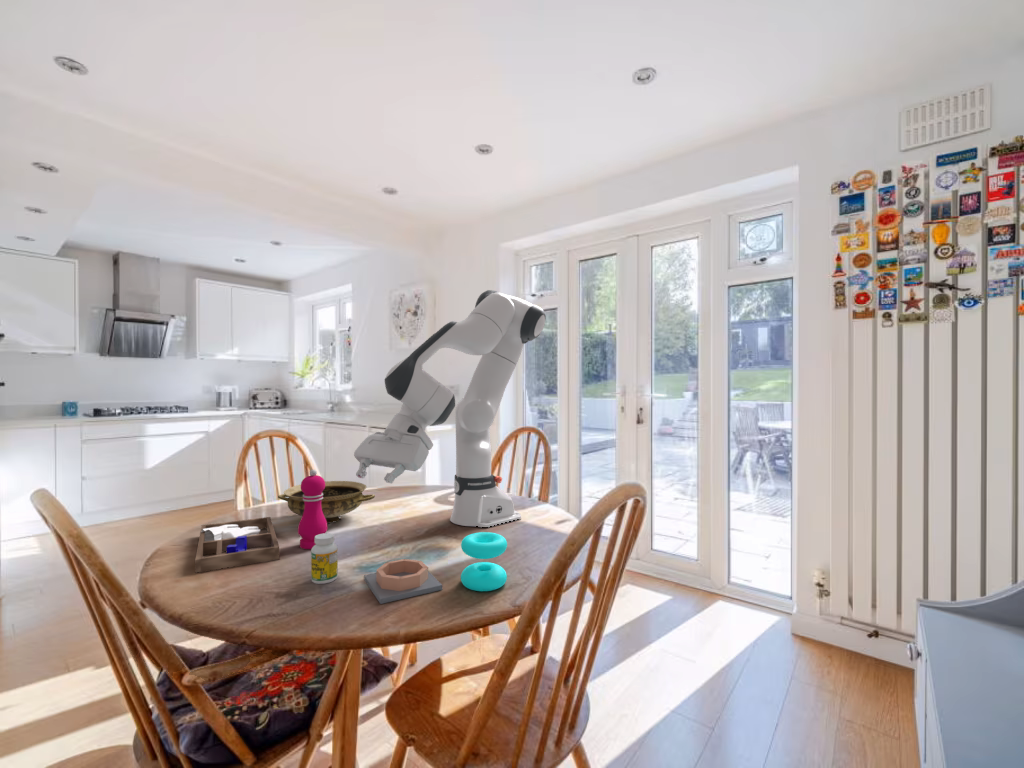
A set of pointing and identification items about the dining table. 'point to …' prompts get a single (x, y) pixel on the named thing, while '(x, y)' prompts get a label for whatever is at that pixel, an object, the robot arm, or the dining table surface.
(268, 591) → the dining table surface
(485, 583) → the donuts
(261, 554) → the walnut compartment tray
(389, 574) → the collar holder
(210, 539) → the white tapered wedge pair
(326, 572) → the supplement bottle
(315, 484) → the pepper mill
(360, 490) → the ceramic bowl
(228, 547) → the cable holder
